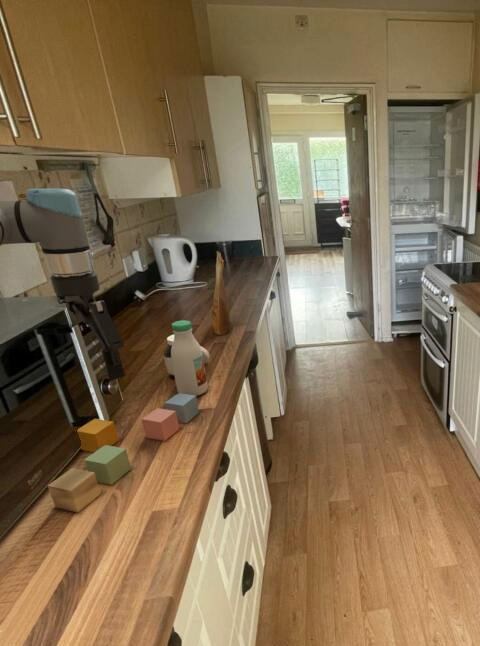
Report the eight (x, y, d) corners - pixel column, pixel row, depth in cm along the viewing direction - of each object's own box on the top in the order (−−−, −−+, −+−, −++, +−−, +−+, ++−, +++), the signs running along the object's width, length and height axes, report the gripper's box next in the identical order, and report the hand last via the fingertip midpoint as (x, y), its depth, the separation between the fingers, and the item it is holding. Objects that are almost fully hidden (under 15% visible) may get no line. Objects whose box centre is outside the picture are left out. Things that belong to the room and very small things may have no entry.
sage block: (90, 480, 84) (83, 459, 82) (110, 464, 89) (105, 444, 87) (111, 484, 83) (105, 464, 81) (131, 468, 88) (125, 448, 86)
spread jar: (167, 381, 123) (159, 344, 118) (169, 365, 132) (162, 330, 128) (211, 375, 127) (206, 338, 122) (210, 360, 136) (205, 326, 132)
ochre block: (81, 450, 93) (75, 430, 91) (100, 437, 97) (94, 418, 95) (100, 453, 92) (94, 434, 90) (118, 440, 96) (113, 421, 94)
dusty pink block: (145, 437, 97) (141, 419, 95) (161, 425, 102) (157, 407, 100) (164, 441, 96) (160, 422, 94) (179, 429, 101) (175, 410, 99)
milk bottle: (190, 400, 113) (177, 330, 105) (171, 393, 117) (158, 324, 109) (214, 388, 119) (203, 321, 111) (195, 382, 123) (184, 316, 115)
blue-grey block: (168, 420, 104) (164, 402, 102) (181, 410, 109) (178, 392, 107) (186, 423, 103) (182, 405, 101) (199, 412, 108) (196, 395, 106)
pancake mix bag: (234, 319, 173) (225, 249, 162) (232, 336, 156) (222, 259, 145) (216, 320, 171) (206, 249, 160) (212, 337, 154) (201, 260, 143)
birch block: (55, 507, 77) (47, 485, 75) (79, 488, 82) (72, 467, 80) (78, 512, 76) (70, 490, 74) (101, 493, 81) (94, 472, 79)
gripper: (128, 278, 81) (150, 378, 89) (61, 261, 92) (86, 351, 101) (86, 286, 75) (114, 392, 83) (20, 267, 86) (50, 362, 95)
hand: (99, 370), depth 92 cm, fingers open, 13 cm apart
